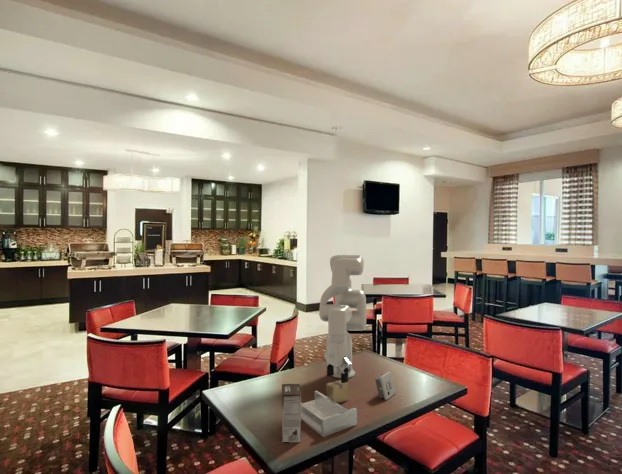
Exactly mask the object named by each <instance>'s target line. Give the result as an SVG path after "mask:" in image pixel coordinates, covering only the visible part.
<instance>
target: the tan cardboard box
mask: <svg viewBox="0 0 622 474" xmlns="http://www.w3.org/2000/svg"><path fill="white" fill-rule="evenodd" d="M349 384H350V383H349V382H346V383H341V379H339V380H334V381H332V382H328V383H326V384H325V386H326V388H325V390H326V391H325V392H326V394H325V396H326V397H328V398H330V399H331V400H333V401H335V402H336V403H338V404H340V403H343V402H348V401H349V399H350V394H349V392H350V391H349V387H350V385H349Z"/></svg>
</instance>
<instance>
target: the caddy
mask: <svg viewBox="0 0 622 474" xmlns="http://www.w3.org/2000/svg"><path fill="white" fill-rule="evenodd" d="M313 393H314V395H313V397H314V399H313V400H312V399H311V400H310V401H307V402H301V419H302V420H303V421H304V422H303V421H302V420H301V421H302V422H303V423H305V424H306V425H307V426H309V428H311V429H312V430H313V431H315V432H316V433H317V434H319V436H321V437H323V438H325V437H327V436H330V435H333V434H335V433H339V432H341V431H344V430H348V429H349V428H352V427H355V426H357V425H358V409H357V407H352V408H345V407H344V406H342V405H341V404H340V403H336V402H335V401H333V400H331V399H330V398H328V397H326V394H324V393H322V392H319V391H318V390H314V392H313Z"/></svg>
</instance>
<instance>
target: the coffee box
mask: <svg viewBox="0 0 622 474" xmlns="http://www.w3.org/2000/svg"><path fill="white" fill-rule="evenodd" d="M301 403H302V391H301V385H300V383H282V384H281V431H282V432H281V434H282V435H281V436H282V443H283V442H290V443H301V442H302V420H301Z"/></svg>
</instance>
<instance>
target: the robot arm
mask: <svg viewBox="0 0 622 474" xmlns="http://www.w3.org/2000/svg"><path fill="white" fill-rule="evenodd" d="M364 260H365V259H364V258H363V256H362V255H360V254H335V255H333V256H331V257H330V259H329V264H330V265H329V266H330V271H331V273H332V274H331V284H330V285H329V286H328V287H327V288H326V289H325V290H324V292H323V293H322V295H321V298H320V301H319V311H318V313H319V314H318V315H319V318H320V320H321V321H322V322H325V323H326V322H327V323H328V326H327V327H328V328H327V330H328V332H327V333H328V334H327V335H328V336H327V338H328V339H327V340H326V345H325V346H326V347H325V353H324V356H323V357H324V361H325V363H326V364H325V366H326V376H327V377H334V378H335V379H336V378H337V379H340V380H341V383H346V382H347V383H349V379H351V378H353V377H355V375H356V371H355V370H354V369H353V338H352V337H351V335H350V333H349V332H348V331H360V332H362V331H365V330H366V328H367V298H366V293H365V291H364V290H361V289H352V279H351V277H350V276H361V275H362V274H363V271H364V265H365V262H364ZM333 297H334V304H330V303H329V304H327V303H328V302H329V300H330V299H333ZM353 309H355V310H353Z"/></svg>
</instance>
